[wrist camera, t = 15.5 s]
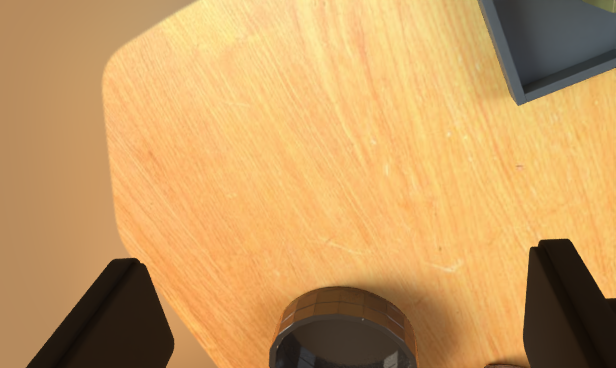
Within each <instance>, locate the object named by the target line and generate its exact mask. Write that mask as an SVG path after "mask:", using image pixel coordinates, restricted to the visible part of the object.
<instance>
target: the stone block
mask: <svg viewBox="0 0 616 368" xmlns="http://www.w3.org/2000/svg"><path fill="white" fill-rule="evenodd" d="M484 368H523V367H517V366H513V365H486V366H485V367H484Z"/></svg>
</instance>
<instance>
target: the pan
mask: <svg viewBox="0 0 616 368" xmlns="http://www.w3.org/2000/svg"><path fill="white" fill-rule="evenodd" d="M269 367H270V368H419V365H418V350H417V344H416V336H415V333H414V330H413V327H412V325H411V324H410V322H409V320H408V319H407V318H406V316H405V315H404V314H403V313H402V312H401V311H400V310H399V309H398V308H397V307H396V306H395V305H393V304H392V303H391V302H389V301H387V300H386V299H384V298H382V297H380V296H378V295H376V294H373V293H370V292H368V291H364V290H360V289H356V288H349V287H328V288H322V289H317V290H314V291H311V292H308V293H306V294H303V295H302V296H300V297H298V298H297V299H295V300H294V301H293V302H291V303H290V304H289V305H288V306H287V307H286V309H285V310H284V311H283V313H282V315H281V317H280V319H279V322H278V324H277V326H276V329H275V333H274V336H273V340H272V343H271V347H270V352H269Z"/></svg>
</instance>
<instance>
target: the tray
mask: <svg viewBox="0 0 616 368" xmlns="http://www.w3.org/2000/svg"><path fill="white" fill-rule="evenodd" d="M478 3H479V6H480V9H481V12H482V15H483V18H484V20H485V23H486V26H487V29H488V32H489V35H490V38H491V40H492V43H493V46H494V49H495V52H496V55H497V58H498V60H499V63H500V66H501V69H502V72H503V75H504V78H505V80H506V83H507V86H508V89H509V92H510V95H511V97H512V98H513V100H514V101H515V102H516V104H517V105H518V106H519V105H522V104H524V103H527V102H530V101H532V100H535V99H537V98H540V97H542V96H545V95H547V94H550V93H552V92H555V91H558V90H560V89H563V88H565V87H568V86H570V85H573V84H575V83H578V82H580V81H583V80H586V79H588V78H591V77H593V76H596V75H598V74H601V73H603V72H606V71H608V70H611V69H614V68H616V13H612V12H609V11H606V10H604V9H601V8H599V7H596V6H593V5H591V4H588V3H586V2H583V1H582V0H478Z"/></svg>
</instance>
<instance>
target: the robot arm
mask: <svg viewBox="0 0 616 368" xmlns="http://www.w3.org/2000/svg"><path fill="white" fill-rule="evenodd" d="M523 342H524V348H525V352H526V355H527V358H528V361H529V364H530V367H531V368H616V298H609V299H605V297H604V295H603V294H602V292H601V290H600V289H599V287H598V285H597V284H596V282H595V280H594V279H593V277H592V275H591V274H590V272H589V270H588V269H587V267H586V265H585V264H584V262H583V260H582V259H581V257H580V255H579V254H578V252H577V250H576V249H575V247H574V245H573V244H572V242H571V241H570V240H569V239H548V240H540V241H539V244H538V247H531V248H530V252H529V264H528V277H527V290H526V303H525V316H524V328H523ZM173 350H174V338H173V335H172V332H171V330H170V327H169V325H168V322H167V319H166V317H165V314H164V312H163V309H162V306H161V304H160V301H159V298H158V296H157V293H156V291H155V288H154V285H153V283H152V280H151V278H150V275H149V272H148V270H147V267H146V266H145V265H144V264H143V263H140V261H139V260H138V259H136V258H126V259H125V258H124V259H114V260H112V261H111V262H110V263H109V264H108V265H107V267H106V268H105V269H104V270H103V272H102V273H101V274H100V276H99V277H98V278H97V279H96V280H95V282H94V283H93V284H92V286H91V287H90V288H89V289H88V291H87V292H86V293H85V294H84V296H83V297H82V298H81V299H80V301H79V302H78V303H77V304H76V306H75V307H74V308H73V309H72V311H71V312H70V313H69V314H68V316H67V317H66V318H65V319H64V321H63V322H62V323H61V325H60V326H59V327H58V328H57V329H56V331H55V332H54V333H53V334H52V336H51V337H50V338H49V339H48V341H47V342H46V343H45V344H44V346H43V347H42V348H41V349H40V351H39V352H38V353H37V355H36V356H35V357H34V358H33V359H32V361H31V362H30V363H29V364H28V366H27V367H26V368H166V366H167V363H168V361H169V359H170V357H171V355H172V353H173Z"/></svg>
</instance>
